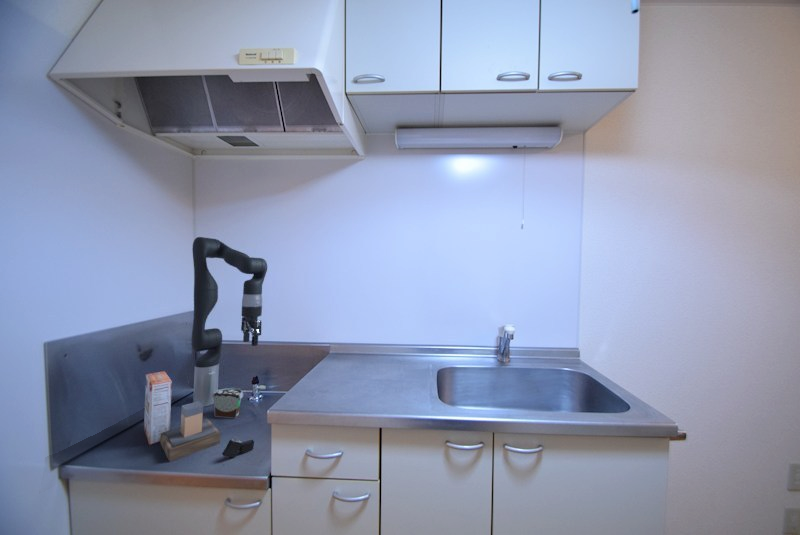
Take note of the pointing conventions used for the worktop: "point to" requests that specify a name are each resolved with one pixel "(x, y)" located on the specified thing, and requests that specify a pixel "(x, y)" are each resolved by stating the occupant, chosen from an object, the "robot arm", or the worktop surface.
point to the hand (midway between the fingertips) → (250, 343)
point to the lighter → (237, 447)
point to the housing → (191, 418)
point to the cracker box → (157, 406)
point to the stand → (189, 441)
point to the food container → (227, 402)
